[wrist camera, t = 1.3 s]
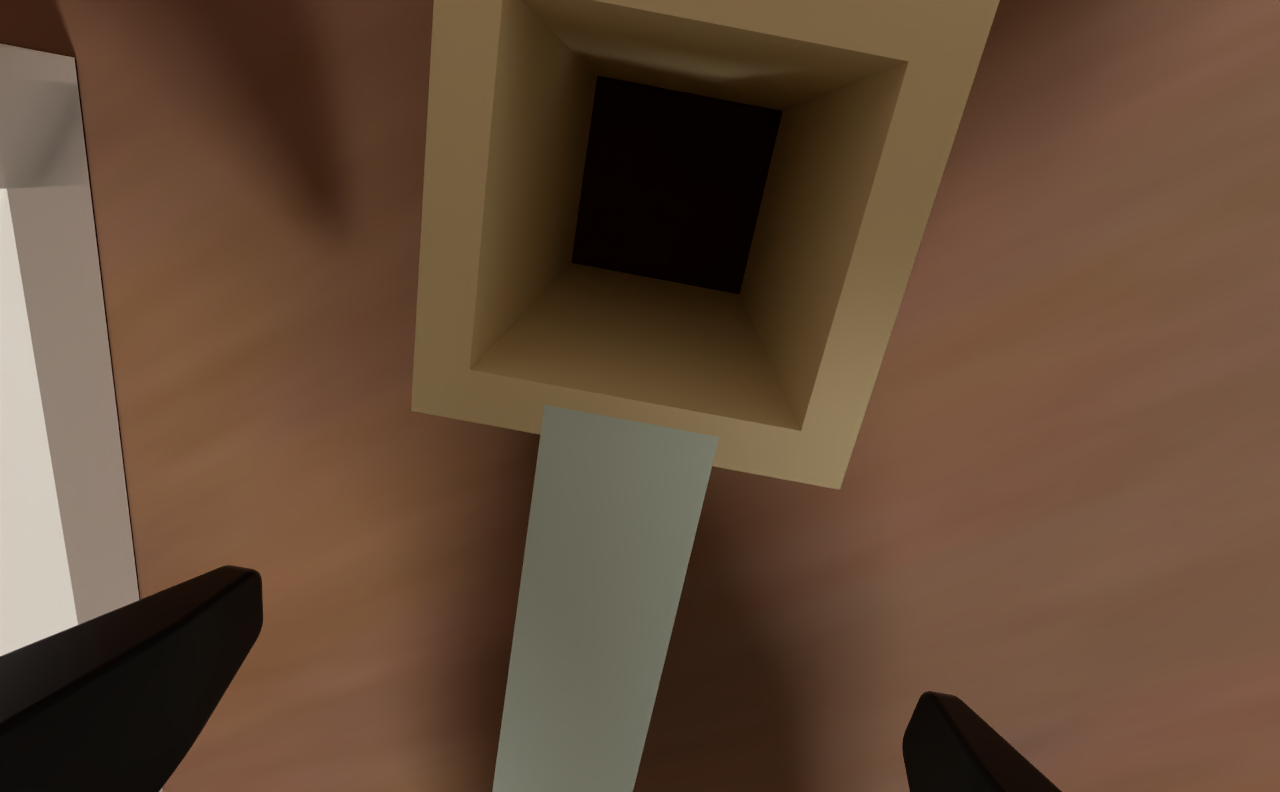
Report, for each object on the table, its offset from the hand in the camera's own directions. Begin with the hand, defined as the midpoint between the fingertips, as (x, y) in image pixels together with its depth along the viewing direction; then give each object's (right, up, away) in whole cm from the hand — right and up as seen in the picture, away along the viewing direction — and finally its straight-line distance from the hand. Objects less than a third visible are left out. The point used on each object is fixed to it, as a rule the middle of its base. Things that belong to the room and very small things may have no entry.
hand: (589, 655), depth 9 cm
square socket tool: (0, +3, +4) cm, 5 cm away
